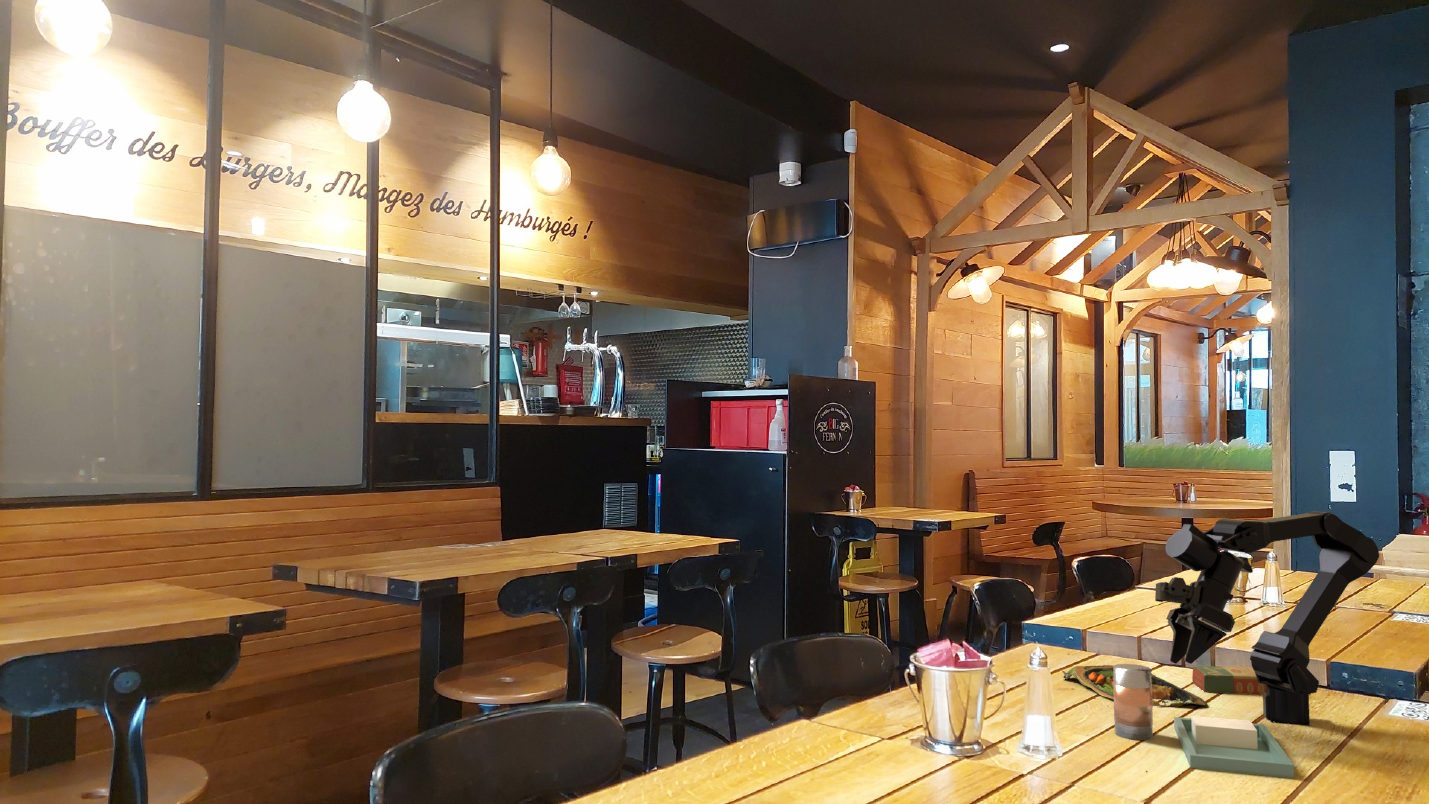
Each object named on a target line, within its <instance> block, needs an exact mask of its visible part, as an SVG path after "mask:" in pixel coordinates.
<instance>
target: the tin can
mask: <svg viewBox="0 0 1429 804" xmlns="http://www.w3.org/2000/svg"><path fill="white" fill-rule="evenodd" d="M1113 673H1114V682H1113V687H1114V700H1113V721H1114V734H1115V736H1117V737H1120V738H1122V739H1127V740H1133V741H1148V740H1152V739H1153V738H1154V732H1153V729H1154V727H1153V726H1154V720H1153V719H1154V718H1153V717H1154V715H1153V714H1154V713H1153V712H1154V711H1153V706H1152V700H1153V699H1152V683H1151V674H1152V668H1151V667H1148V666H1146V665H1141V664H1134V663H1132V664H1131V663H1119V664H1118V663H1117V664H1114V666H1113Z"/></svg>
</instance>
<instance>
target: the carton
mask: <svg viewBox="0 0 1429 804" xmlns="http://www.w3.org/2000/svg"><path fill="white" fill-rule="evenodd" d="M1191 679H1192V684H1193V683H1194V684H1193V685H1195V686H1196V687H1197V688H1198V687H1199V688H1198V689H1200V690H1201V691H1202V690H1203V691H1204V693H1207V694H1208V693H1209V694H1235V695H1236V694H1237V695H1254V696H1255V695H1256V696H1257V695H1258V696H1263V693H1266V685H1265V684H1261V683H1259V682H1258V680H1257V677H1256V674H1255V671H1254V670H1253V668H1252V666H1249V667H1245V666H1215V665H1214V666H1213V665H1212V666H1211V665H1193V667H1192V677H1191ZM1203 691H1202V692H1203Z"/></svg>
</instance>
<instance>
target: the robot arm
mask: <svg viewBox="0 0 1429 804" xmlns="http://www.w3.org/2000/svg"><path fill="white" fill-rule="evenodd" d="M1182 525H1183V526H1182V527H1181V528H1180V529H1178V530H1177V531H1175V532H1174V533H1173V534H1172V535H1171V536H1170V537H1168V539H1167V541H1166V543H1165V553H1166V554H1167V556H1169V557H1170V558H1172V559H1174V560H1175V561H1177V562H1179V563H1180V564H1182V565H1183V566H1185V567H1186V568H1187V569H1190V570H1192V571H1194V572H1200V573H1199V575H1198V576H1197V579H1196V581H1193V582H1190V584H1187V583H1186V581H1185V579H1184V577H1178V576H1177V577H1176V576H1174V577H1172V578H1171V579H1170V580H1169V582H1167V581H1162V582H1161V581H1160V582H1158V583H1155V596H1154V597H1155V598H1154V599H1155V600H1154V601H1155V602H1159V603H1163V602H1167V603H1173V604H1179V607H1176V608H1173V609H1170V610H1169V612H1168V614H1167V617H1166V620H1167V624H1168V625H1169V626H1170V629H1171V630H1172V632H1173V634H1172V636H1173V637H1172V644H1171V649H1170V650H1171V651H1170V658H1169V660H1170V662H1171V663H1173V664H1175V665H1176V664H1178V663H1179V662H1180V661H1181V660H1182V659H1183V658H1184V657H1185V658H1184V661H1185V662H1186V663H1188V664H1189V665H1191V664H1193V663H1195V661H1197V660H1198V659H1199V658H1200V657H1201V656H1203V654H1205V653H1206V652H1207V651H1208V650H1210V648H1212V647H1214V645H1216V644H1217V643H1218V642H1219V641H1220V640H1222V639H1224V637H1226V636H1227V635H1228V634H1227V633H1231V632H1232V630H1233V628H1234V626H1235V623H1236V621H1235V618H1234V616H1233V615H1232V614H1231V613H1229V612H1227V611H1225V608H1226V605H1227V603H1228V602H1230V601H1232V600H1233V598H1234V594H1232V592H1233V590H1234V587H1235V585H1236V582H1237V580H1238V578H1239V576H1240V573H1242V572H1243V573H1247V574H1248V573H1249V574H1253V572H1254V570H1253V567H1252V565H1251V564H1250V562H1249V558H1248V557H1246V556H1240V555H1239V556H1237V555H1235V554H1234V553H1231V551H1232V552H1235V553H1237V552H1238V553H1245V554H1252V553H1255V552H1257V551H1260V550H1263V549H1265V548H1267V547H1268V546H1269V545H1270V544H1273V543H1274V542H1280V541H1286V540H1292V539H1300V538H1304V537H1306V538H1307V537H1312V542H1313V543H1314V545H1316V547H1318V548H1319V549H1320V552H1319V557H1318V558H1319V570H1318V572H1317V574H1316V575H1315V577H1313V578H1314V579H1313V580H1312V581H1311V582H1310V584H1309V585H1308V587H1307V589H1305V590H1306V591H1305V592H1304V594H1303V595H1302V596H1301V598H1300V599H1299V601H1298V603H1297V605H1295V607H1294V609H1293V610H1292V611H1291V613H1290V615H1289V617H1288V618H1287V620H1285V622H1284V624H1283V625H1282V627H1281V628H1280V629H1279V630H1277V631H1275V632H1271V631H1266V630H1264V631H1263V632H1262V633H1261V634H1260V636H1259V638H1258V640H1257V642H1256V643H1255V644H1254V645H1252V646H1251V647H1250V648H1251V649H1252V651H1251V654H1250V658H1249V661H1251V664H1250V665H1251V667H1252V668H1253V670H1254V671H1255V674H1256V677H1257V680H1258V682H1259V683H1261V684H1265V685H1266V693H1263V695H1262V709H1263V711H1262V712H1263V716H1264V717H1265V719H1266V720H1268V721H1270V723H1272V724H1280V725H1281V724H1283V725H1292V726H1305V727H1313V724H1312V723H1311V721H1310V720H1311V719H1310V695H1311V694H1317V692H1318V688H1319V684H1320V681H1319V680H1318V679H1317V677H1316V676H1315V675H1314V674H1313V673H1312V672H1311V671H1310V670H1309V669H1308V666H1309V664H1310V661H1311V659H1310V644H1311V643H1312V641H1313V639H1314V638H1315V637H1316V635H1317V633H1318V632H1319V630H1320V628H1321V627H1322V626H1323V624H1324V622H1325V621H1326V619H1327V618H1328V616H1329V614H1330V613H1331V611H1332V610H1333V609H1334V607H1335V606H1336V604H1337V602H1338V601H1339V599H1340V598H1341V596H1342V595H1343V593H1344V592H1345V590H1346V588H1347V587H1348V586H1349V585H1350V583H1351V584H1352V582H1354V581H1356V580H1358V579H1360V578H1362V577H1364V576H1365V575H1367V574H1368V573H1369V571H1371V569H1372V568H1374V567H1375V565H1376V564H1377V562H1378V560H1379V558H1380V553H1379V552H1380V550H1379V548H1378V545H1377V544H1376V542H1375V541H1374V539H1372V538H1371V537H1368V536H1366V535H1365V534H1364V533H1363V532H1362V531H1360V530H1358V529H1357V528H1355V527H1353V526H1351V525H1350V524H1348V523H1346V522H1344V521H1343V520H1342V519H1341V518H1340V517H1338V516H1337V515H1336V514H1334V513H1332V512H1328V511H1327V512H1326V511H1315V510H1313V511H1312V510H1311V511H1309V512H1306V513H1301V514H1300V513H1299V514H1293V515H1285V516H1280V517H1279V516H1278V517H1274V518H1268V519H1267V518H1265V519H1260V520H1255V519H1253V520H1252V519H1239V518H1221V519H1218V520H1217V521H1215V524H1214V526H1213V527H1211V528H1210V529H1208V530H1206V531H1204V532H1203V531H1201V530H1200V529H1199V528H1198V527H1197V526H1195V525H1194V524H1189V523H1184V524H1182ZM1219 549H1220V550H1222V551H1220V550H1219Z"/></svg>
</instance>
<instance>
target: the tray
mask: <svg viewBox="0 0 1429 804" xmlns="http://www.w3.org/2000/svg"><path fill="white" fill-rule="evenodd" d="M1252 724H1253V725H1254V727H1255V728H1256V730H1257V744H1258V749H1250V748H1239V747H1228V746H1217V745H1206V744H1197V743H1196V741H1195V739H1194V737H1193V735H1192V720H1191V717H1190V718H1188V717H1177V716H1174V717H1173V727H1174V728H1173V729H1174V731H1175V734H1176V736H1177V738H1178V741H1179V743H1180V746H1181V748H1182V751H1183V754H1184V755H1185V758H1186V761H1187V762H1188V764H1189V768H1190V769H1197V770H1207V771H1217V772H1218V771H1219V772H1227V773H1235V774H1246V775H1247V774H1248V775H1258V776H1265V777H1268V776H1269V777H1276V778H1277V777H1278V778H1287V779H1295V765H1294V763H1293V762H1292V760H1291V758H1289V757H1288V755H1287V754H1286V752H1285V751H1284V750H1283V748H1282V747H1281V746H1280V744H1279V742H1278V741H1277V740H1276V739H1275V737H1274V736H1273V735H1272V733H1271V731H1270V730H1269V729H1268V728H1267V727H1266V725H1265V724H1262V723H1252Z"/></svg>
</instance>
